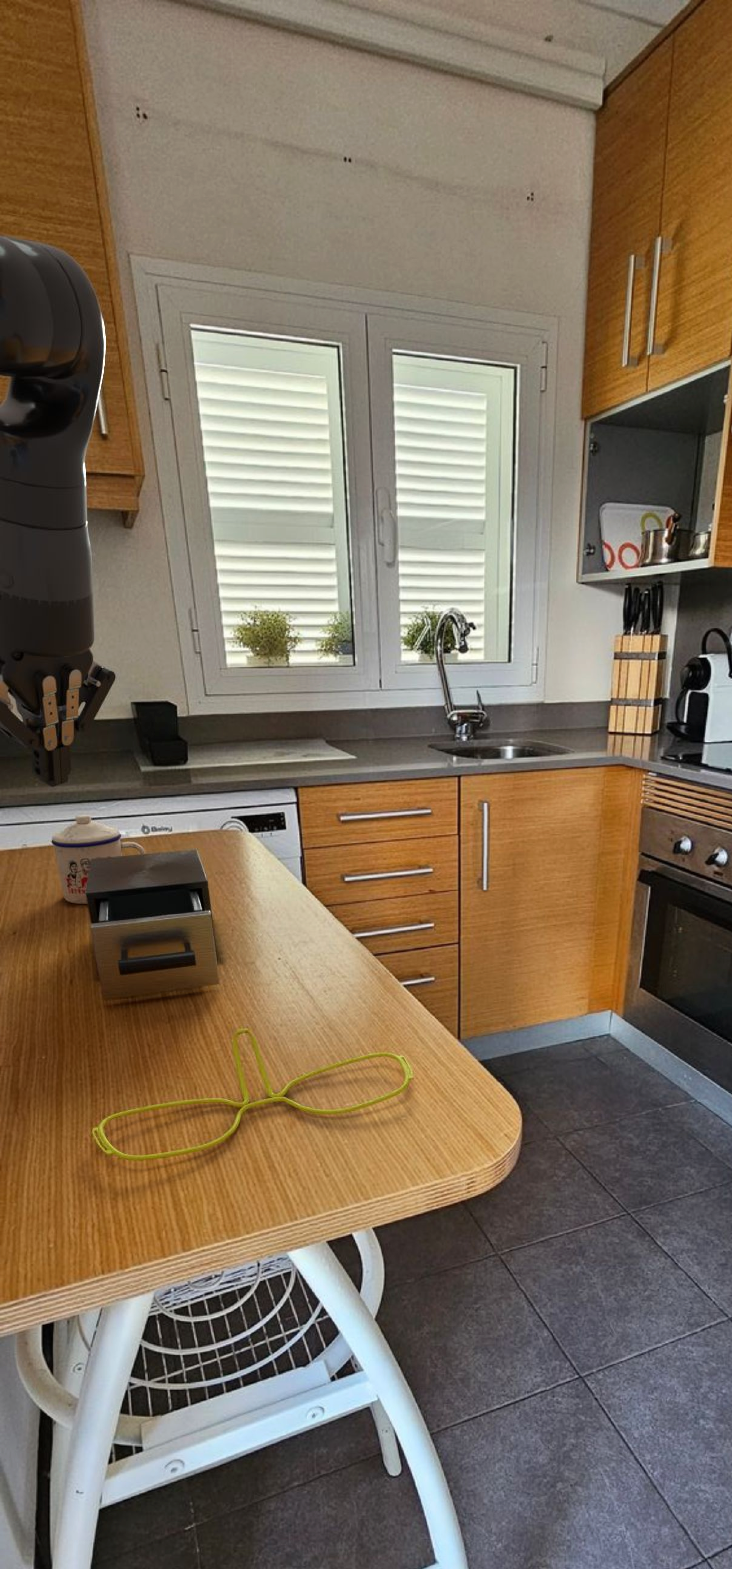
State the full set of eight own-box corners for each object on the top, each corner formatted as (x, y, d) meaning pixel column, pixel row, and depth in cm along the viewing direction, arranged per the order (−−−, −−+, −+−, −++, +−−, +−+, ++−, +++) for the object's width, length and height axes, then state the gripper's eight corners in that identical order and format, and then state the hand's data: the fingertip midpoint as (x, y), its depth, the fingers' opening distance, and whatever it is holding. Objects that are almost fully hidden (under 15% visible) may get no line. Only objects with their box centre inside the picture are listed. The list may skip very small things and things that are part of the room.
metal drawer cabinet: (217, 961, 97) (207, 880, 93) (100, 976, 93) (85, 893, 89) (206, 920, 110) (197, 849, 107) (103, 932, 106) (90, 858, 103)
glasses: (101, 1183, 58) (89, 1123, 56) (89, 1115, 66) (78, 1061, 64) (430, 1096, 68) (429, 1044, 66) (384, 1047, 76) (382, 999, 74)
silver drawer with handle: (224, 1000, 84) (215, 927, 81) (102, 1018, 80) (88, 942, 77) (207, 940, 101) (199, 877, 98) (106, 952, 97) (94, 887, 94)
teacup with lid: (62, 908, 116) (46, 824, 111) (62, 891, 123) (47, 812, 119) (153, 897, 120) (141, 816, 116) (148, 881, 128) (136, 805, 123)
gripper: (74, 552, 69) (82, 744, 80) (-79, 569, 60) (-46, 785, 70) (142, 585, 67) (141, 777, 78) (-4, 608, 58) (18, 824, 68)
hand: (52, 780), depth 74 cm, fingers closed
